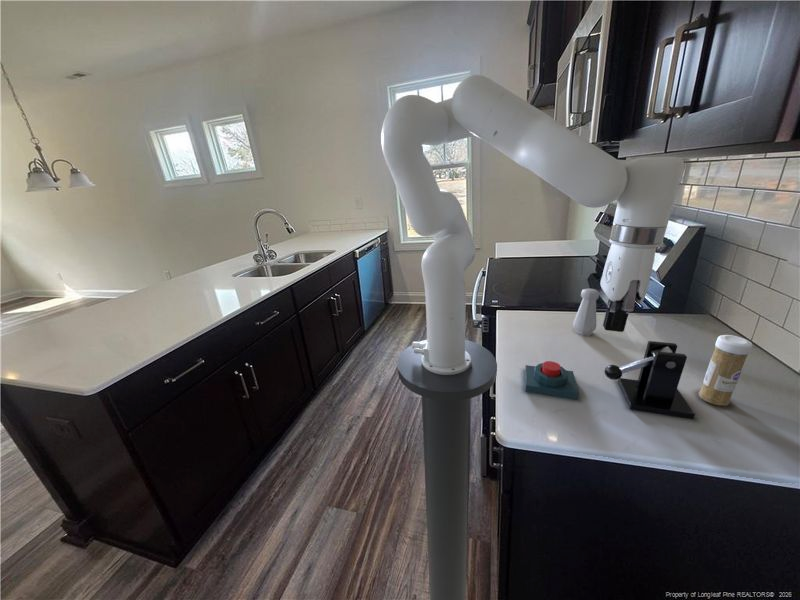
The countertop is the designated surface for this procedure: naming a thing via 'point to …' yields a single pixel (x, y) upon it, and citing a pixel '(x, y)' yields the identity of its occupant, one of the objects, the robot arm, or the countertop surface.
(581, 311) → the salt shaker
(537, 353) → the countertop surface
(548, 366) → the stop button
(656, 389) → the switch bracket
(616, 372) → the switch lever
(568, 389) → the stop block
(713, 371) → the sprinkles bottle
